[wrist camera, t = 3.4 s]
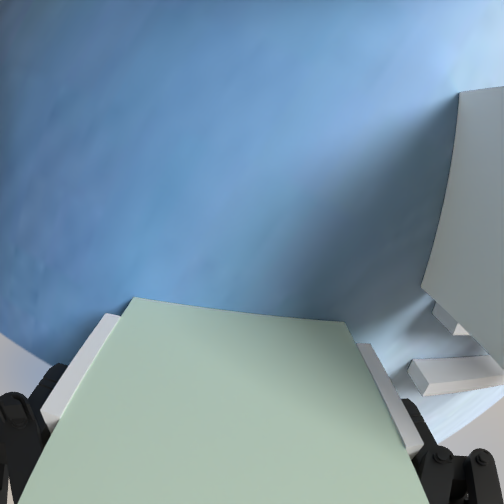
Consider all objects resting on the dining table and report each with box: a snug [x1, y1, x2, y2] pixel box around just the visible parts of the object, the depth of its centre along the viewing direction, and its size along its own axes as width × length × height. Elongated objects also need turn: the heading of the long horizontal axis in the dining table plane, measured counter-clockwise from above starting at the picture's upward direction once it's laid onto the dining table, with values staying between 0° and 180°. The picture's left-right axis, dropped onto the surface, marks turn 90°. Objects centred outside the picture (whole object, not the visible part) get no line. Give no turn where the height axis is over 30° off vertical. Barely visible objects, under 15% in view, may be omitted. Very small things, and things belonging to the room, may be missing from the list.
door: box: [18, 297, 429, 504], centre depth 10 cm, size 11×4×13 cm, turn 82°
